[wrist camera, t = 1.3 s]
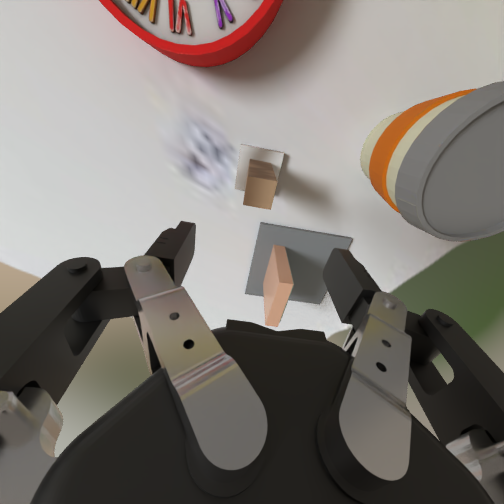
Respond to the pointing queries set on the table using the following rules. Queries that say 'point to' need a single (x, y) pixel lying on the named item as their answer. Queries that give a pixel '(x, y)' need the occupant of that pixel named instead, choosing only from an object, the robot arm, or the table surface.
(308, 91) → the table surface
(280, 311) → the tile
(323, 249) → the mat
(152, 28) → the toy clock
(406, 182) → the reusable coffee cup
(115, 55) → the table surface
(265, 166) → the scraper
